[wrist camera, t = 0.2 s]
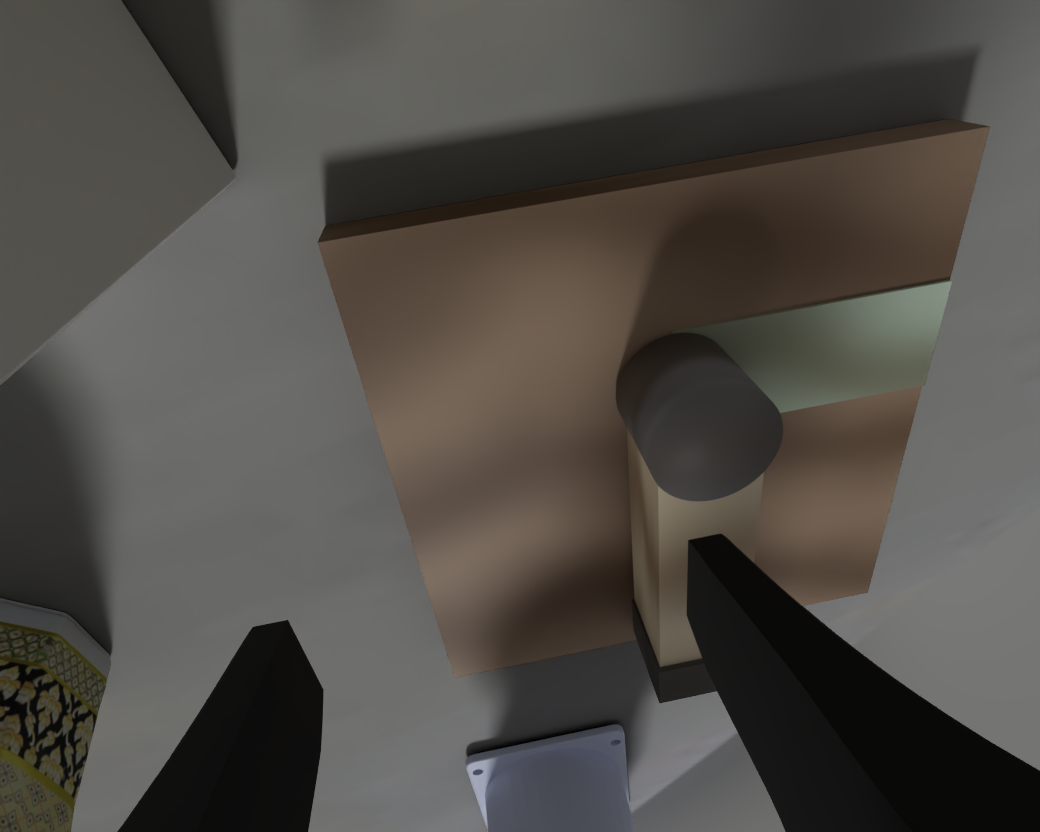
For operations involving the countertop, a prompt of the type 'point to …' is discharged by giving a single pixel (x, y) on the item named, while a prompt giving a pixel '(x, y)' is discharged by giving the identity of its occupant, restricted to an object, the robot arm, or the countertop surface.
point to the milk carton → (87, 163)
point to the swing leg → (688, 486)
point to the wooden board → (619, 336)
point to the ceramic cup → (45, 714)
